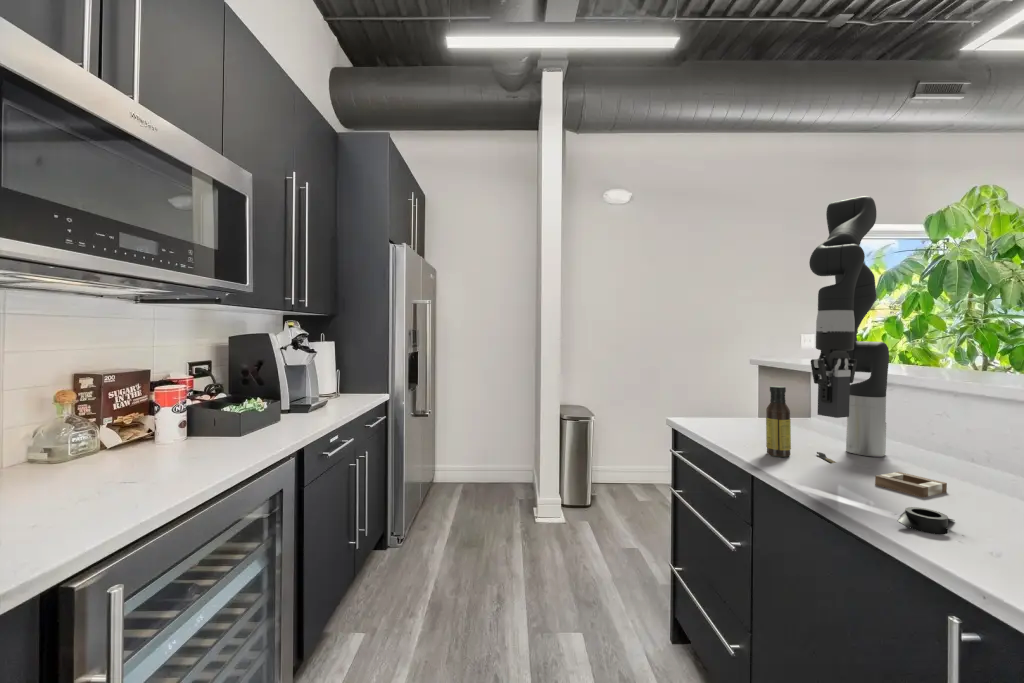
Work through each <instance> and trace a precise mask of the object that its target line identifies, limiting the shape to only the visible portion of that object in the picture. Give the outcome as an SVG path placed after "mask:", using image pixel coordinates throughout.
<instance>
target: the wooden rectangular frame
mask: <svg viewBox="0 0 1024 683" xmlns="http://www.w3.org/2000/svg"><path fill="white" fill-rule="evenodd" d="M874 484H875V486H879V487H882V488H886V489H889V490H893V491H898V492H901V493H905V494H908V495H910V496H911V495H912V496H915V497H919V498H928V497H931V496H932V497H933V496H937V495H941V494H946V493H947V490H948V488H947V485H948V483H947V482H944V481H940V480H937V479H936V480H935V479H931V478H927V477H923V476H919V475H914V474H910V473H907V472H902V471H896V472H890V473H882V474H879V475H878V474H877V475H875V481H874Z"/></svg>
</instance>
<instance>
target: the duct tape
mask: <svg viewBox="0 0 1024 683" xmlns="http://www.w3.org/2000/svg"><path fill="white" fill-rule="evenodd" d="M949 521H953V522H954V521H955V519H953V518H949V516H948V515H946V514H945V513H944V512H941V511H937V510H934V509H929V508H924V507H916V506H908V507H905V510H904V512H903V513H902V514H901V515H900V516H899V517H898V519H897V520H896V522H898V523H899V524H901V525H903V526H905V527H906V528H910V527H911V528H910V529H912V528H913V530H914V529H916V530H915V531H917V530H918V532H921V533H924V534H930V535H940V536H941V535H947V534H948V533H949V529H948V528H949Z"/></svg>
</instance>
